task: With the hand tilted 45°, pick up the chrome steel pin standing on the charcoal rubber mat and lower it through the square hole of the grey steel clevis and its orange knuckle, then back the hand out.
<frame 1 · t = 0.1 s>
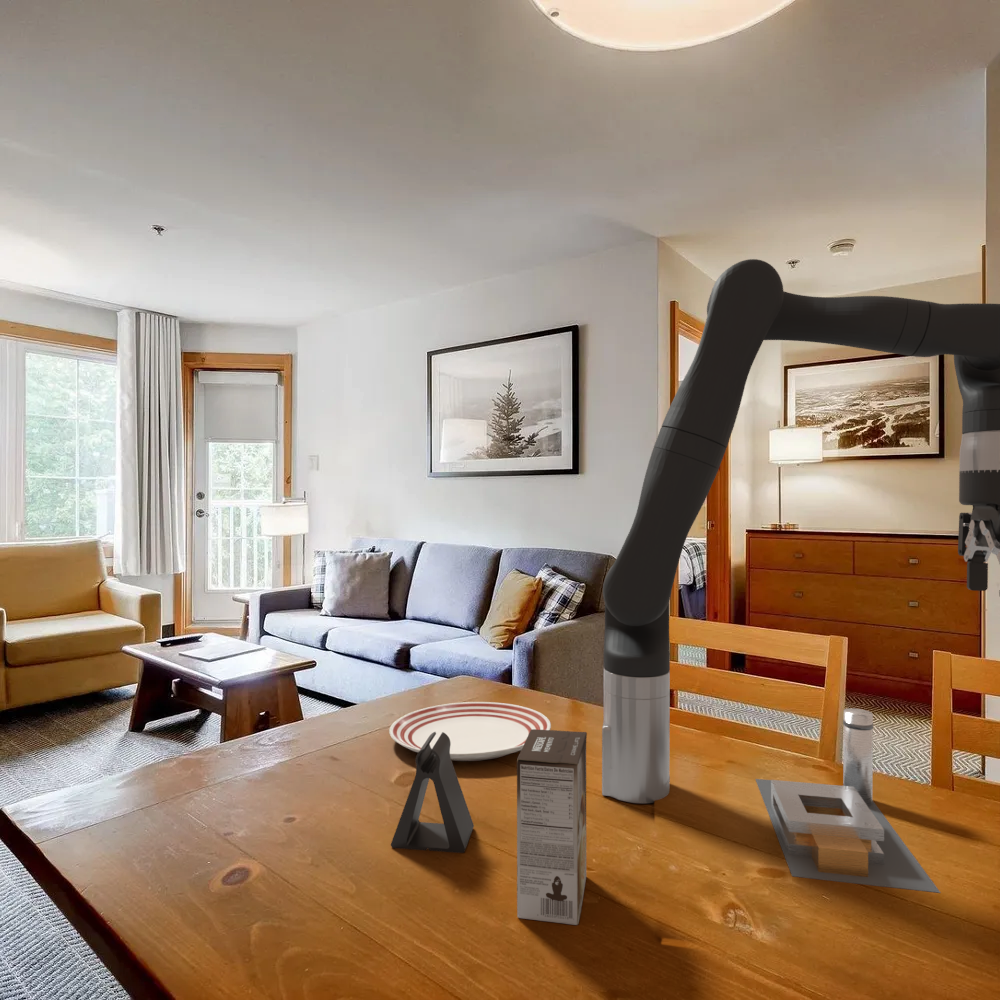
hand: (993, 594, 87), 29 cm above the table, tool pointing down, fingers open, 8 cm apart
dark triangular stand: (433, 839, 83), on the table
coffee box: (553, 898, 71), on the table
pin: (857, 800, 92), resting on mat
clevis: (824, 838, 82), resting on mat
mat: (832, 830, 85), on the table
dinner plate: (470, 743, 116), on the table
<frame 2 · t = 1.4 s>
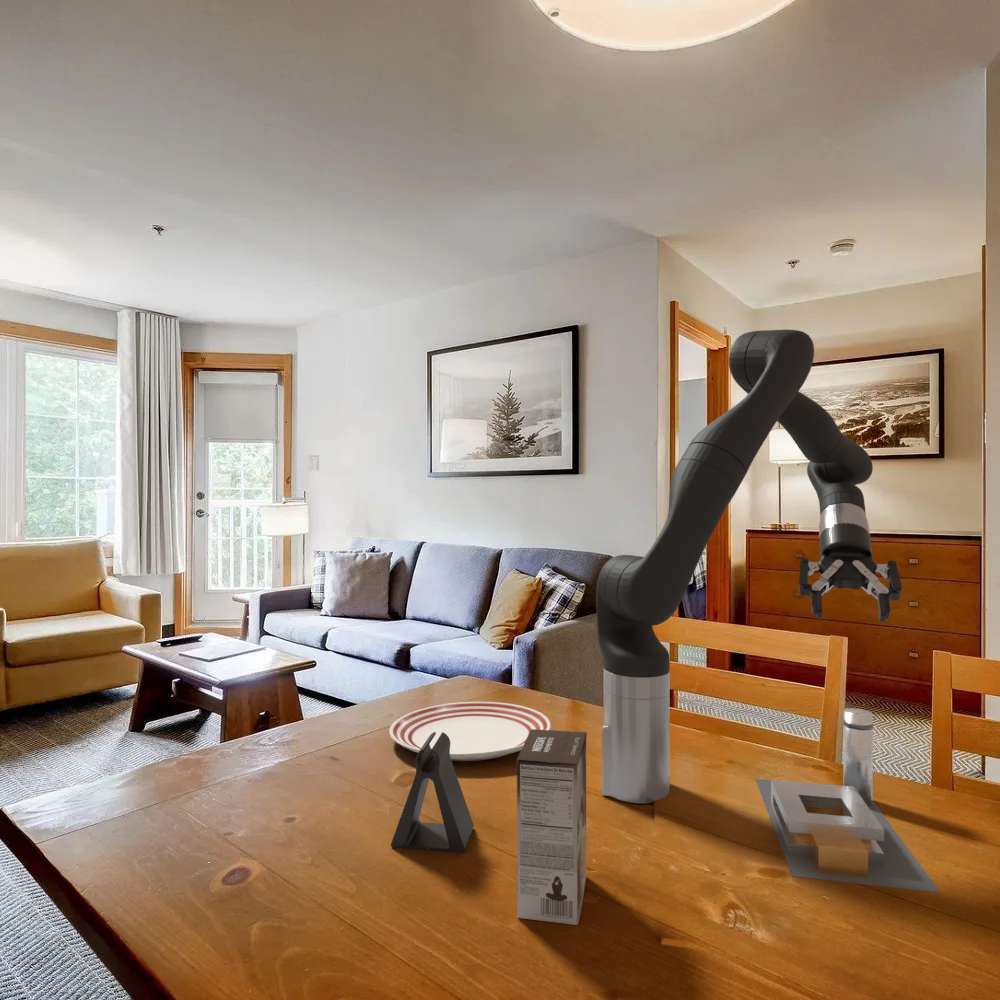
hand: (850, 616, 103), 24 cm above the table, tool tilted 45°, fingers open, 8 cm apart
nothing on the table moved.
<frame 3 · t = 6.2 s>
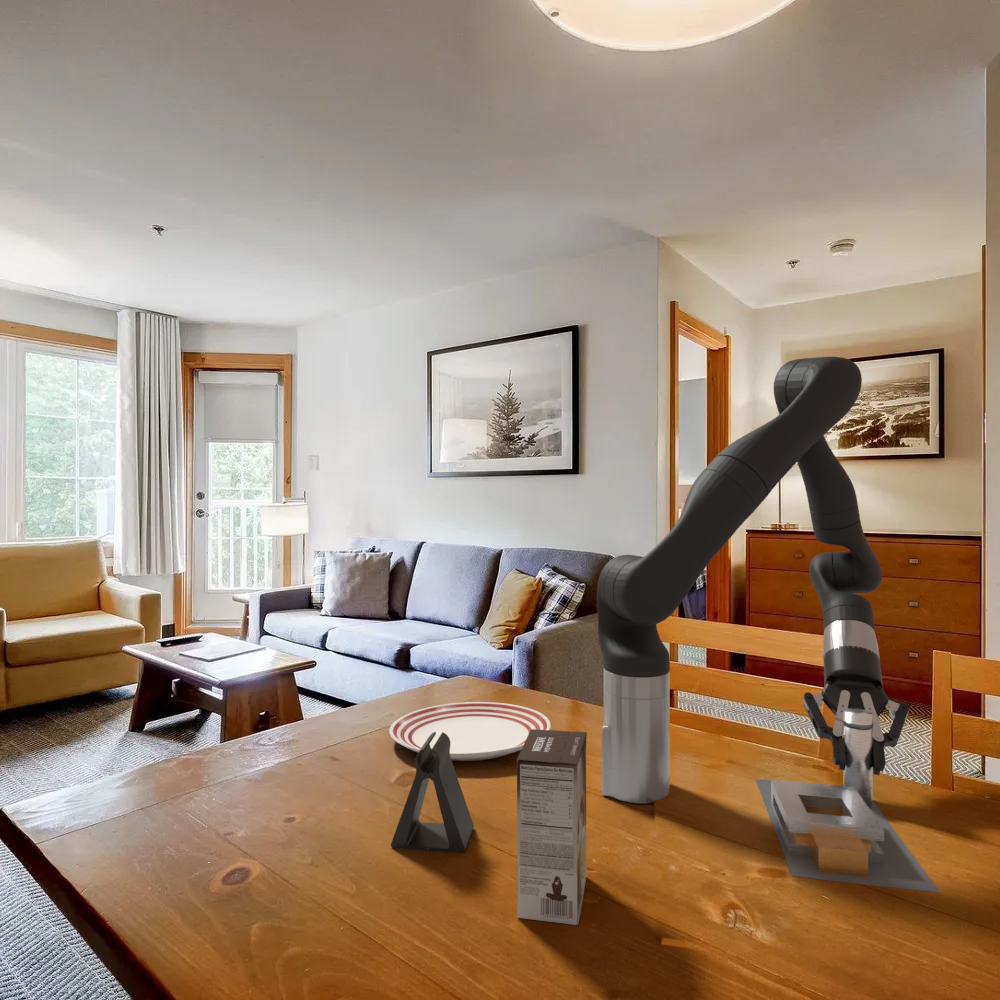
hand: (859, 769, 91), 6 cm above the table, tool tilted 45°, fingers closed on pin, 3 cm apart
pin: (857, 800, 92), point 1 cm above the table, touching gripper, mat
everything else where it was.
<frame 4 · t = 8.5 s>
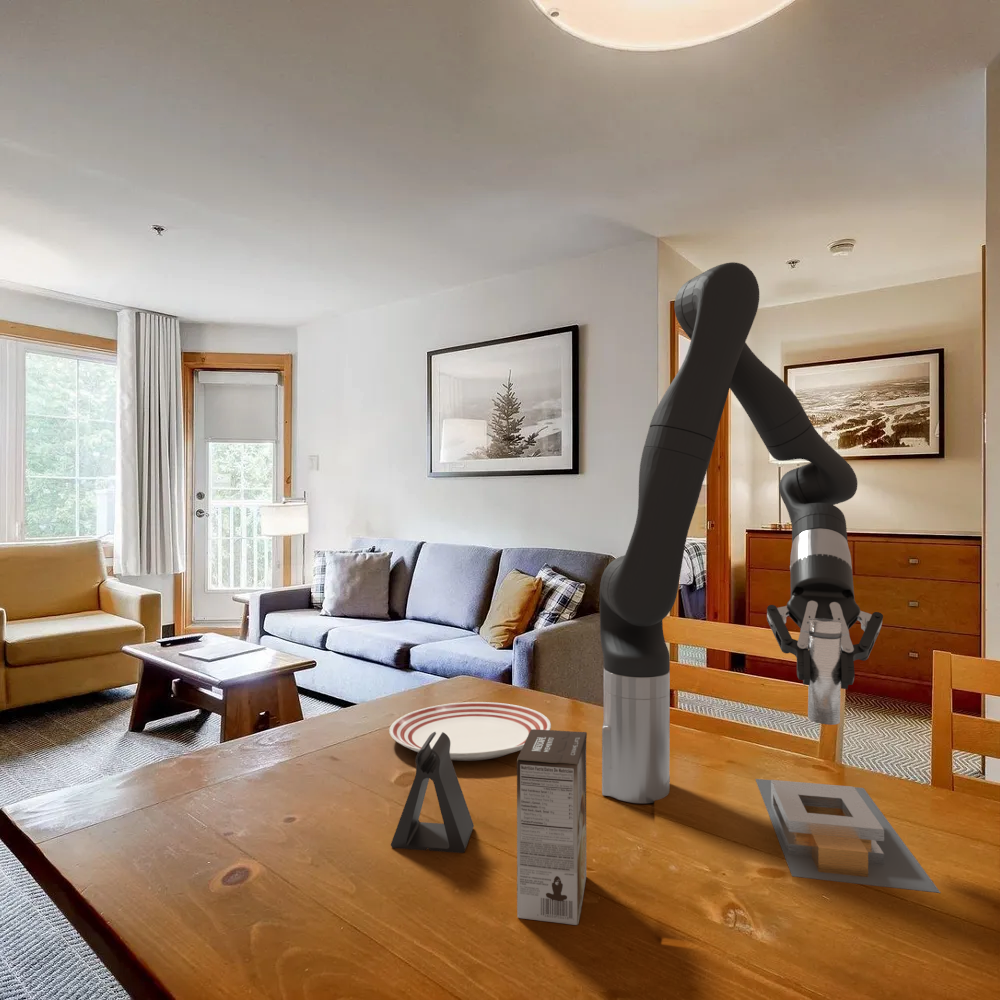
hand: (825, 682, 80), 20 cm above the table, tool tilted 45°, fingers closed on pin, 3 cm apart
pin: (823, 719, 82), point 15 cm above the table, touching gripper
everything else where it was.
when the fingers open (7 cm above the table, at t = 10.8 s): pin drops 2 cm, resting on mat.
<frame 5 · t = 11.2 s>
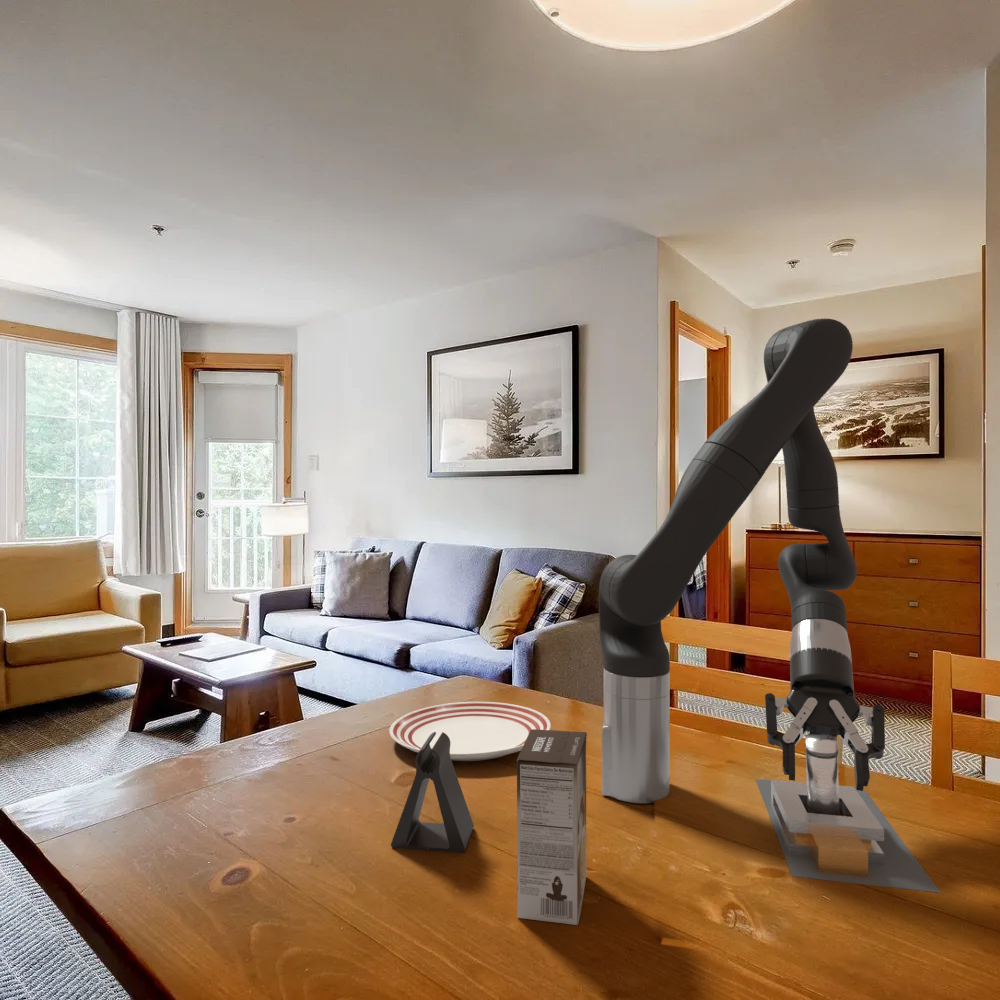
hand: (825, 782, 81), 8 cm above the table, tool tilted 45°, fingers open, 6 cm apart
pin: (823, 837, 82), point 1 cm above the table, touching mat
everything else where it was.
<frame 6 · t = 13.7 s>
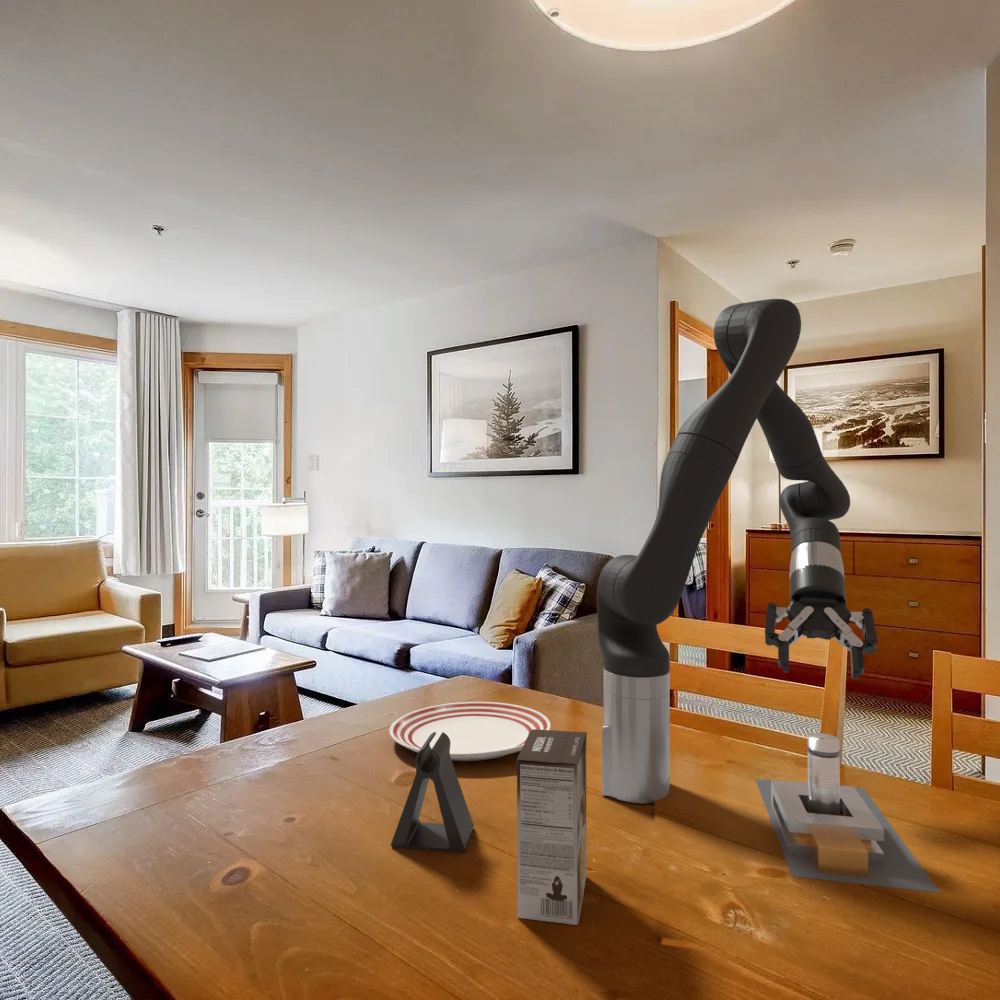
hand: (820, 672, 92), 18 cm above the table, tool tilted 45°, fingers open, 8 cm apart
nothing on the table moved.
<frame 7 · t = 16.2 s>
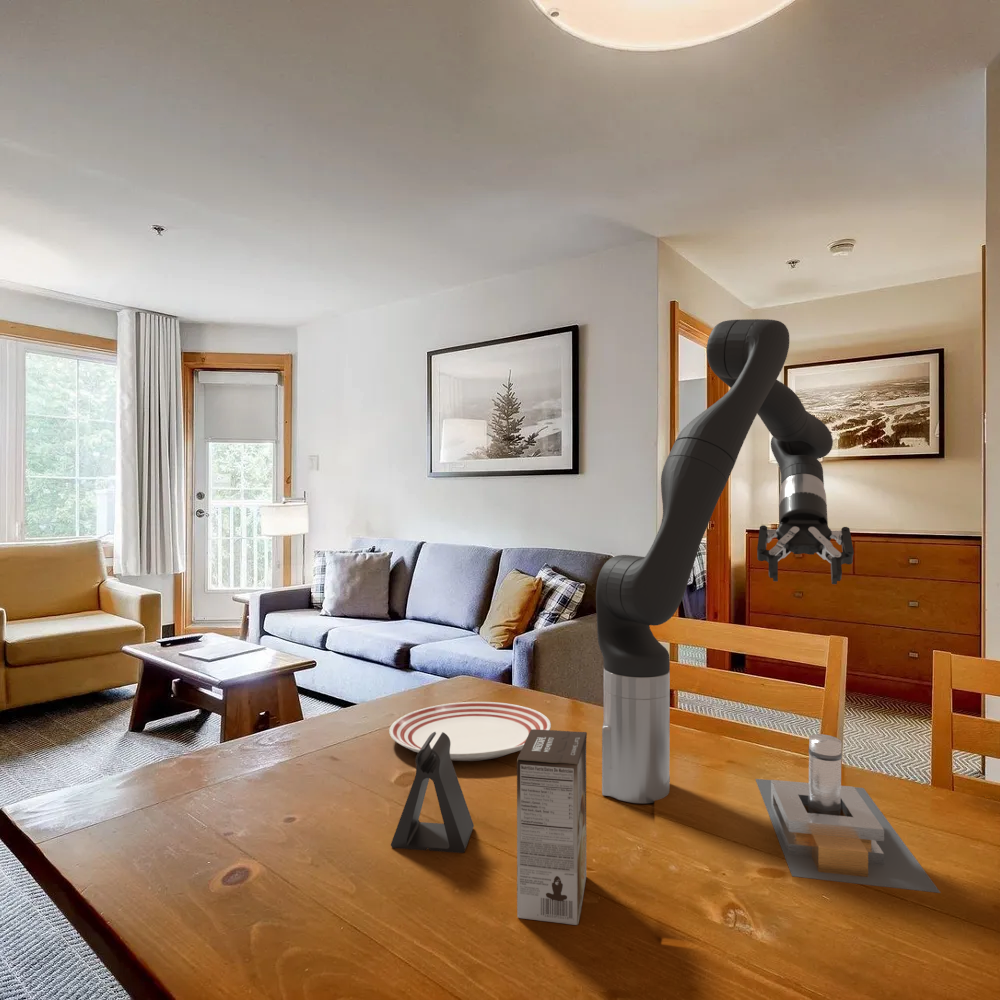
hand: (804, 579, 107), 29 cm above the table, tool tilted 45°, fingers open, 8 cm apart
nothing on the table moved.
at the end: pin 0.1 cm off-centre on the clevis, point 0.1 cm above the clevis's base; pin tilted 3°; the gripper is holding nothing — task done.
